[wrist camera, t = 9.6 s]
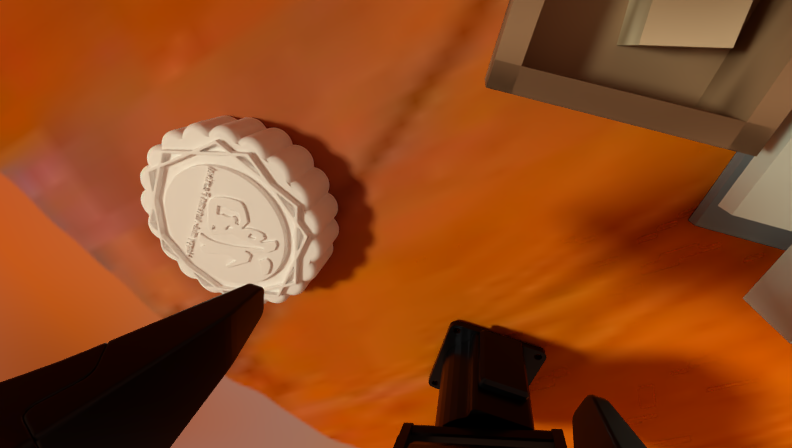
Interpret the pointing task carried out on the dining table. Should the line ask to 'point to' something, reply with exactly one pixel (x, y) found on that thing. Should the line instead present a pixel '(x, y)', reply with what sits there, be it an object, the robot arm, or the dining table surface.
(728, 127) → the tub
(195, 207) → the mooncake
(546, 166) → the dining table surface
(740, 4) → the block
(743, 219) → the mat
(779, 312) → the lid
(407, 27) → the dining table surface
